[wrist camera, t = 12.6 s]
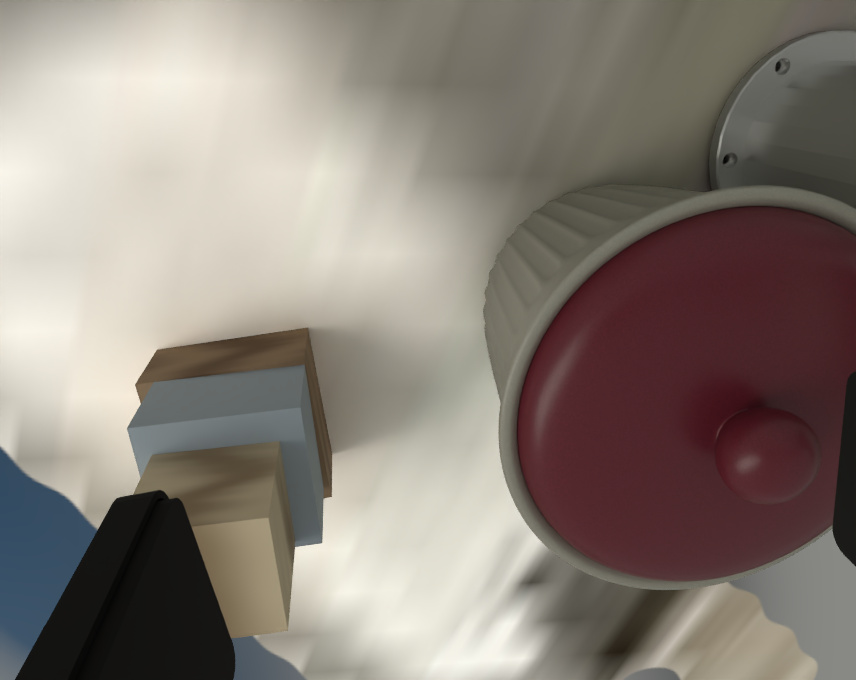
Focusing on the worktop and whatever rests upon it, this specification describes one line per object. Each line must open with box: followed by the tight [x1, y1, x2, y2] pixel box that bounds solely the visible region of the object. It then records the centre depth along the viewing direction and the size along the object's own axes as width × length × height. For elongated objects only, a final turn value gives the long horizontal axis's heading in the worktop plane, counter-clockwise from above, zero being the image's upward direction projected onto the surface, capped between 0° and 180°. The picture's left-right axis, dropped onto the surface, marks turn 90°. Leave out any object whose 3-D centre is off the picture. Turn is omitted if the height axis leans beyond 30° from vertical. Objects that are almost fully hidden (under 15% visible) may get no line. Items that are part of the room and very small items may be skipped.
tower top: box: [127, 365, 324, 547], centre depth 36 cm, size 8×8×5 cm
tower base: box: [135, 328, 332, 498], centre depth 40 cm, size 9×9×5 cm
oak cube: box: [133, 441, 295, 638], centre depth 31 cm, size 6×6×6 cm
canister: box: [483, 184, 856, 590], centre depth 33 cm, size 18×18×21 cm
